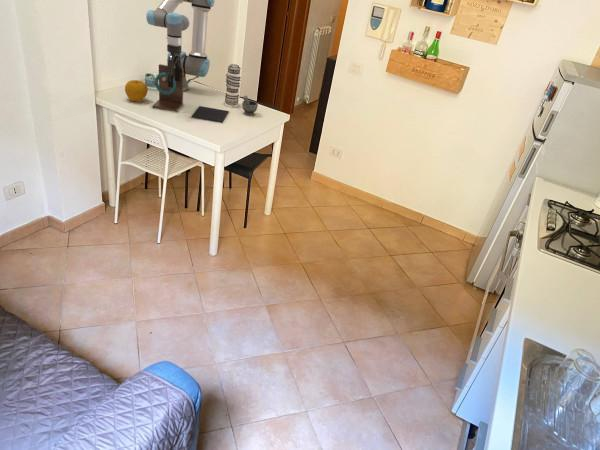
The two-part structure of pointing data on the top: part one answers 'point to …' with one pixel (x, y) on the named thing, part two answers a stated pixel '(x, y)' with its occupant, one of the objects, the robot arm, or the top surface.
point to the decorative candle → (232, 85)
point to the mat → (210, 114)
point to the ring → (160, 88)
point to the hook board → (174, 99)
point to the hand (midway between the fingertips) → (174, 84)
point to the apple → (136, 90)
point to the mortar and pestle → (249, 106)
